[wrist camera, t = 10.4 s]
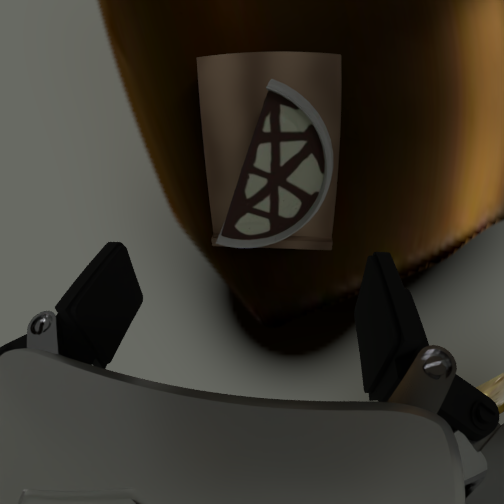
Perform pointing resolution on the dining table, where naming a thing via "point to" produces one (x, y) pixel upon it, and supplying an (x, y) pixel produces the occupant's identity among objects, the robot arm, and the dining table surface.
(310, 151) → the food container
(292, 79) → the brown rectangular block
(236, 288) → the dining table surface
